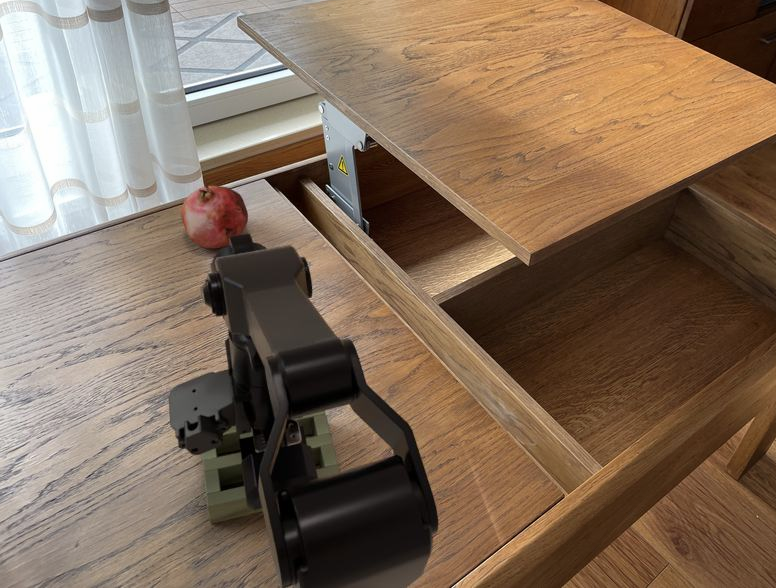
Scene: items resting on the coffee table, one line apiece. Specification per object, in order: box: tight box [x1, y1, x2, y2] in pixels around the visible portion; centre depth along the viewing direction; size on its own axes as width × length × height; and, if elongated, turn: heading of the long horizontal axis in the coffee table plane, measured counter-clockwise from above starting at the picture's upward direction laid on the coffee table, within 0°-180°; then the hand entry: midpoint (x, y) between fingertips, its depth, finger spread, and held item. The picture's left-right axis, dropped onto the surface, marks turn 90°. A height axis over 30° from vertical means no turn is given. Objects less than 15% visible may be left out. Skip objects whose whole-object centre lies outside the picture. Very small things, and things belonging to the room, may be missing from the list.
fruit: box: [180, 183, 249, 249], centre depth 102 cm, size 9×10×10 cm
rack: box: [201, 410, 341, 525], centre depth 77 cm, size 9×13×4 cm
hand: (271, 457), depth 74 cm, fingers closed, pressing on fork
